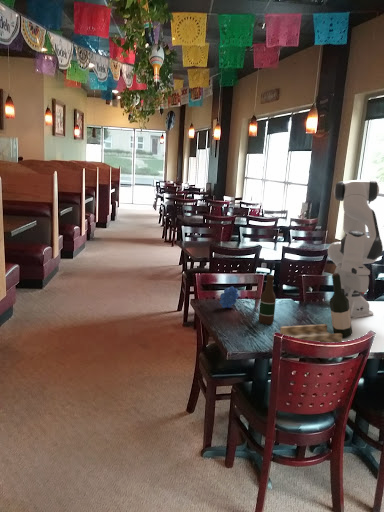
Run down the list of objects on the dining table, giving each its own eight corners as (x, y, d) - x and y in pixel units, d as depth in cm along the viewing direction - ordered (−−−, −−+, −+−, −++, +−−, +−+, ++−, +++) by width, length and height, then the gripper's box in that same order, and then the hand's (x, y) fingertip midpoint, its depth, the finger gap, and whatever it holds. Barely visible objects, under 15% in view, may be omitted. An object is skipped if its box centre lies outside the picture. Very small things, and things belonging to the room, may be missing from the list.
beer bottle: (275, 325, 207) (280, 277, 202) (259, 324, 206) (264, 277, 201) (271, 319, 214) (276, 273, 209) (256, 319, 213) (260, 273, 209)
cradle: (324, 331, 202) (325, 324, 202) (341, 341, 190) (342, 334, 190) (279, 334, 195) (280, 326, 195) (294, 345, 183) (295, 337, 183)
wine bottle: (353, 337, 193) (346, 275, 186) (334, 338, 195) (327, 277, 188) (350, 328, 201) (344, 269, 193) (332, 330, 203) (325, 271, 195)
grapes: (233, 304, 235) (235, 283, 232) (239, 308, 229) (241, 287, 226) (215, 306, 230) (216, 285, 227) (221, 310, 224) (222, 288, 221)
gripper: (332, 262, 200) (328, 290, 203) (360, 272, 181) (356, 303, 184) (343, 261, 202) (339, 289, 205) (373, 272, 183) (368, 302, 185)
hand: (347, 296), depth 194 cm, fingers closed
